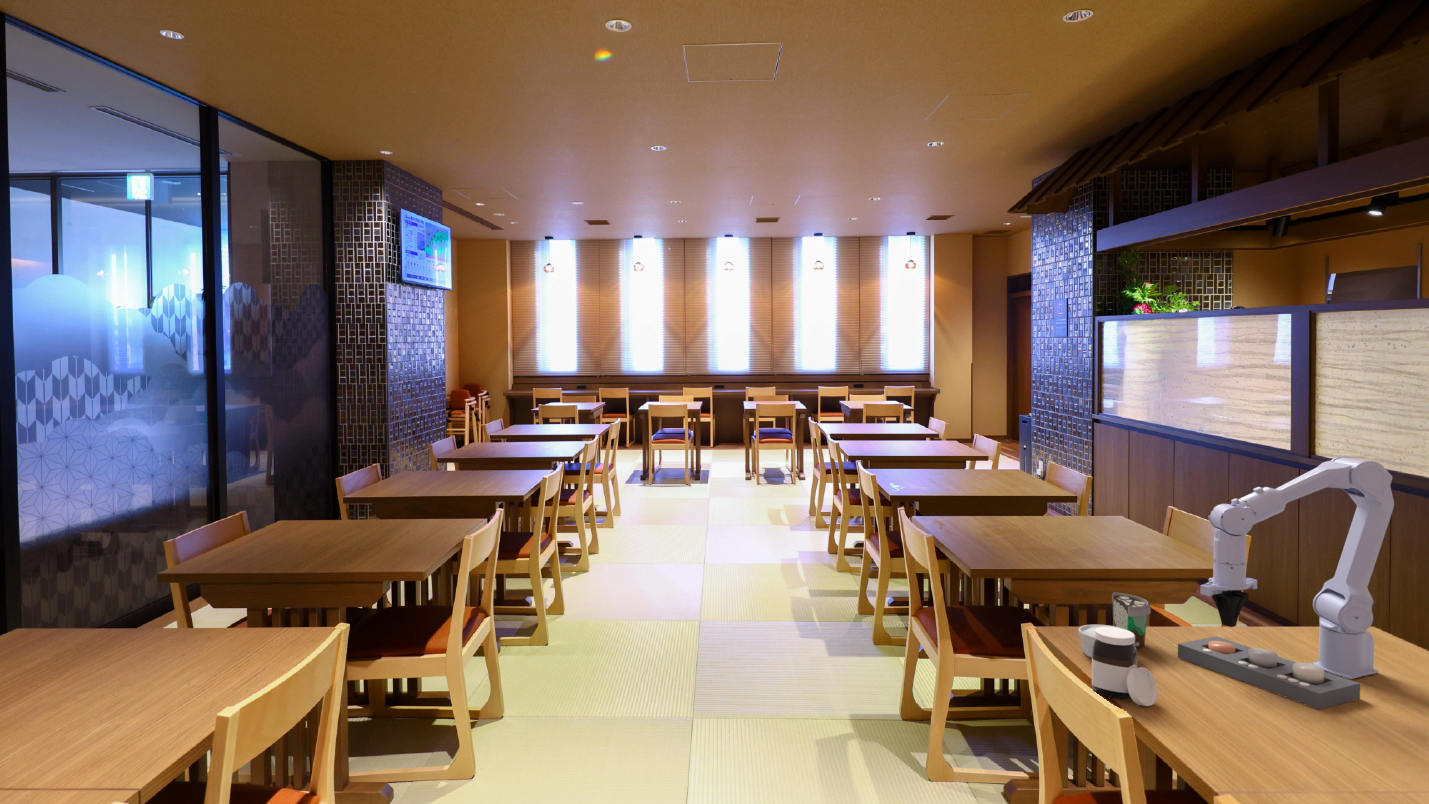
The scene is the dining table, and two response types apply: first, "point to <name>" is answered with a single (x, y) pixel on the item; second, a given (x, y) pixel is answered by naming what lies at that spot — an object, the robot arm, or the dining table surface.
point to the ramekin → (1089, 637)
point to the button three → (1308, 673)
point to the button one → (1222, 647)
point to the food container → (1131, 615)
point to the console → (1270, 674)
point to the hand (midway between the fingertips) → (1228, 625)
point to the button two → (1262, 657)
